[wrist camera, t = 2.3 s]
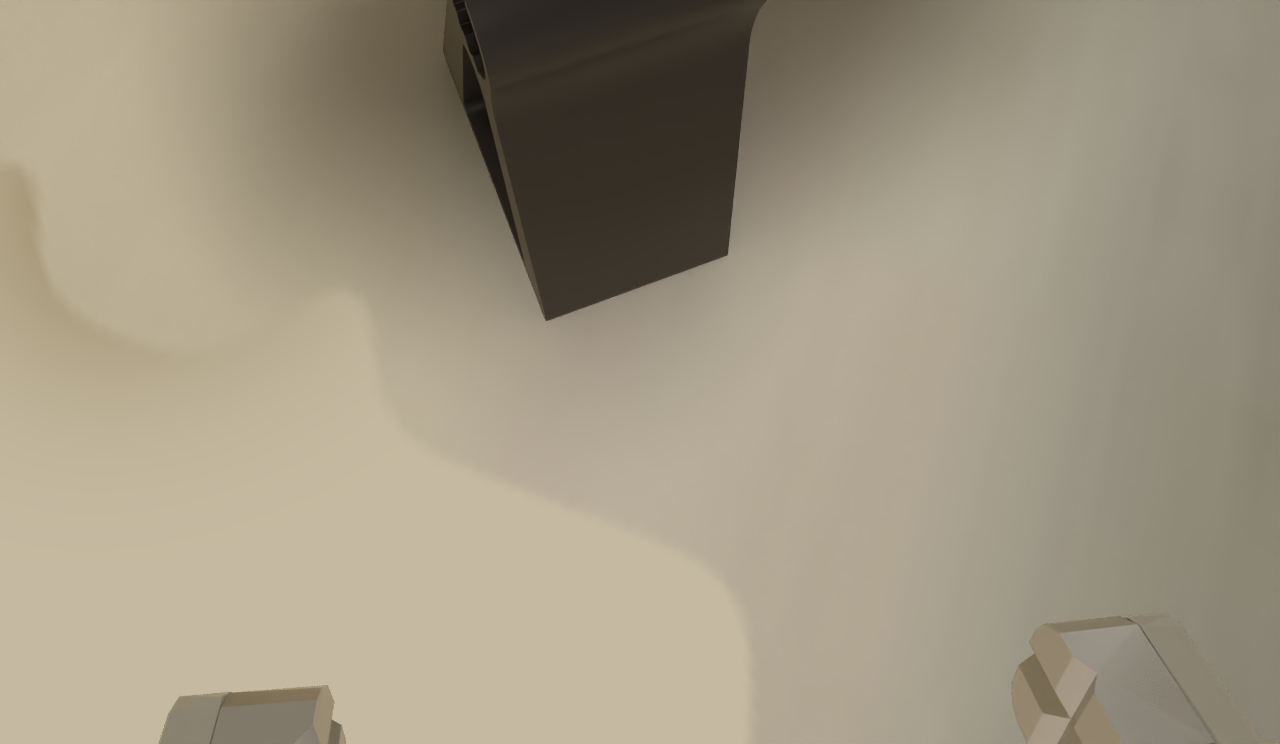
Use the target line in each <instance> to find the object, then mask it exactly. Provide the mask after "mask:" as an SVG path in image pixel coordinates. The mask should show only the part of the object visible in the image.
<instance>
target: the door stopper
mask: <svg viewBox="0 0 1280 744" xmlns="http://www.w3.org/2000/svg"><path fill="white" fill-rule="evenodd" d="M765 2H766V0H447V6H446V19H445V32H444V46H443V52H444V55H445V59H446V62H447V64H448V67H449V70H450V72H451V75H452V78H453V80H454V83H455V85H456V88H457V91H458V93H459V96H460V98H461V101H462V104H463V106H464V109H465V112H466V114H467V117H468V119H469V122H470V125H471V127H472V130H473V132H474V135H475V138H476V140H477V143H478V146H479V148H480V151H481V153H482V156H483V159H484V161H485V164H486V166H487V169H488V172H489V174H490V177H491V180H492V182H493V184H494V186H495V189H496V192H497V195H498V198H499V200H500V203H501V206H502V208H503V211H504V214H505V216H506V219H507V221H508V224H509V227H510V229H511V232H512V234H513V237H514V240H515V242H516V245H517V248H518V250H519V253H520V255H521V258H522V261H523V263H524V266H525V268H526V271H527V274H528V276H529V279H530V282H531V284H532V287H533V289H534V292H535V295H536V297H537V300H538V302H539V305H540V308H541V310H542V313H543V315H544V318H545V320H546V321H548V320H551V319H554V318H556V317H559V316H562V315H565V314H567V313H570V312H573V311H576V310H578V309H581V308H584V307H587V306H589V305H592V304H595V303H598V302H600V301H603V300H606V299H609V298H611V297H614V296H617V295H620V294H622V293H625V292H628V291H631V290H633V289H636V288H639V287H642V286H644V285H647V284H650V283H653V282H655V281H658V280H661V279H664V278H666V277H669V276H672V275H675V274H677V273H680V272H683V271H686V270H688V269H691V268H694V267H697V266H699V265H702V264H705V263H708V262H710V261H713V260H716V259H719V258H721V257H724V256H727V255H728V246H729V237H730V227H731V217H732V207H733V197H734V187H735V178H736V168H737V158H738V148H739V138H740V128H741V119H742V109H743V99H744V89H745V79H746V69H747V60H748V50H749V41H750V35H751V30H752V26H753V23H754V20H755V17H756V15H757V13H758V11H759V9H760V8H761V6H762V5H763V4H764V3H765Z"/></svg>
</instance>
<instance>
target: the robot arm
mask: <svg viewBox="0 0 1280 744" xmlns="http://www.w3.org/2000/svg"><path fill="white" fill-rule="evenodd" d="M1029 643H1030V645H1031V647H1032V649H1033V651H1034V652H1035V654H1033V655H1032V656H1030V657H1029V658H1028V659H1026V660H1025V661H1024V662H1022V663H1021V664H1019V665H1018V668H1017V670H1016V673H1015V675H1014V678H1013V681H1012V703H1013V708H1014V712H1015V715H1016V719H1017V722H1018V725H1019V727H1020V729H1021V731H1022V733H1023V736H1024V738H1025V740H1026V742H1027V744H1280V743H1279V742H1278V741H1276V740H1262V739H1261V737H1260V736H1259V734H1258V733H1257V732H1256V730H1255V729H1254V727H1253V726H1252V724H1251V723H1250V722H1249V720H1248V719H1247V717H1246V716H1245V714H1244V713H1243V712H1242V710H1241V709H1240V707H1239V706H1238V705H1237V703H1236V702H1235V700H1234V699H1233V697H1232V696H1231V695H1230V693H1229V692H1228V690H1227V689H1226V687H1225V686H1224V685H1223V683H1222V682H1221V680H1220V679H1219V678H1218V676H1217V675H1216V673H1215V672H1214V670H1213V669H1212V668H1211V666H1210V665H1209V663H1208V662H1207V660H1206V659H1205V658H1204V656H1203V655H1202V653H1201V652H1200V651H1199V649H1198V648H1197V646H1196V645H1195V643H1194V642H1193V641H1192V639H1191V638H1190V636H1189V635H1188V633H1187V632H1186V631H1185V629H1184V628H1183V626H1182V625H1181V624H1180V623H1179V622H1178V621H1177V620H1176V619H1174V618H1173V617H1171V616H1170V615H1168V614H1149V615H1139V616H1129V617H1121V616H1117V617H1107V618H1098V619H1088V620H1078V621H1069V622H1059V623H1049V624H1044V625H1042V626H1040V627H1039V628H1037V629H1036V630H1035V632H1034V634H1033V636H1032V638H1031V640H1030V642H1029ZM333 707H334V700H333V698H332V695H331V692H330V690H329V687H328V685H325V686H314V687H313V686H312V687H300V688H287V689H273V690H261V691H248V692H235V693H233V692H225V693H214V694H203V695H192V696H180V697H179V698H178V699H177V701H176V703H175V704H174V706H173V707H172V709H171V710H170V712H169V713H168V716H167V720H166V722H165V725H164V729H163V732H162V735H161V738H160V741H159V744H346V740H345V736H344V732H343V729H342V726H341V725H340V724H338V723H337V722H335V721H333V720H332V713H333Z"/></svg>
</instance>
